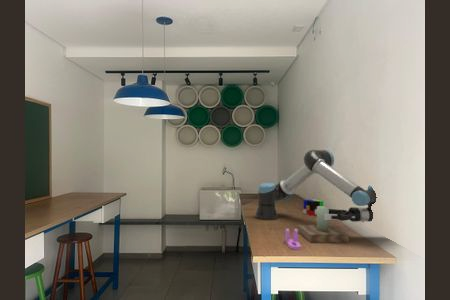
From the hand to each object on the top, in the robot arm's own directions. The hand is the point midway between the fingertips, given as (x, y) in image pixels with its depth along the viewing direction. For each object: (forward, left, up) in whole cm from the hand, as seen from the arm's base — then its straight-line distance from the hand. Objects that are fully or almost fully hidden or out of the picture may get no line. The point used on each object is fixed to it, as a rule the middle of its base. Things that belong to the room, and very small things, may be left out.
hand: (319, 214), depth 163 cm
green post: (+2, 0, -8) cm, 8 cm away
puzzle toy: (+20, +62, -13) cm, 67 cm away
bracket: (-18, -14, -13) cm, 26 cm away
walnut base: (+2, 0, -12) cm, 12 cm away
